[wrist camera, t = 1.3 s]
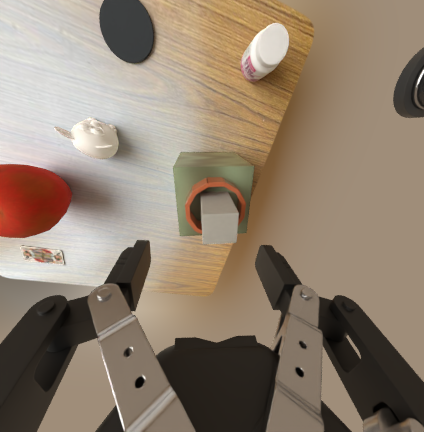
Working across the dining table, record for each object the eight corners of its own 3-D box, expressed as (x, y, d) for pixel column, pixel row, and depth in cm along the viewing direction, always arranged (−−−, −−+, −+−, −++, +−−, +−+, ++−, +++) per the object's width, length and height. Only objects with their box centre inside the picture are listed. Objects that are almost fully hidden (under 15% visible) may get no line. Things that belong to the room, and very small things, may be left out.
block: (227, 191, 24) (239, 213, 18) (226, 215, 26) (236, 242, 20) (200, 191, 24) (202, 214, 18) (200, 216, 26) (202, 244, 20)
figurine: (126, 129, 32) (111, 130, 26) (122, 162, 34) (107, 170, 29) (79, 111, 30) (51, 108, 24) (78, 148, 32) (53, 153, 27)
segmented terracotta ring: (243, 176, 24) (248, 181, 21) (238, 226, 28) (242, 235, 25) (184, 177, 23) (183, 183, 21) (188, 228, 27) (187, 237, 25)
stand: (233, 151, 35) (254, 166, 23) (230, 200, 41) (246, 233, 28) (180, 152, 34) (172, 167, 22) (184, 202, 40) (179, 236, 27)
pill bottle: (234, 72, 29) (248, 54, 22) (249, 38, 27) (270, 6, 20) (257, 88, 31) (277, 76, 23) (272, 57, 29) (300, 33, 21)
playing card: (61, 250, 43) (61, 250, 43) (64, 265, 45) (64, 265, 45) (19, 245, 41) (19, 245, 41) (24, 260, 43) (24, 260, 43)
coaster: (149, -5, 24) (148, -7, 24) (157, 64, 28) (156, 63, 27) (93, -9, 24) (92, -11, 23) (108, 62, 27) (107, 61, 27)
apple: (93, 174, 35) (37, 201, 23) (82, 219, 39) (30, 262, 27) (20, 143, 31) (-93, 155, 19) (17, 197, 36) (-76, 235, 23)
